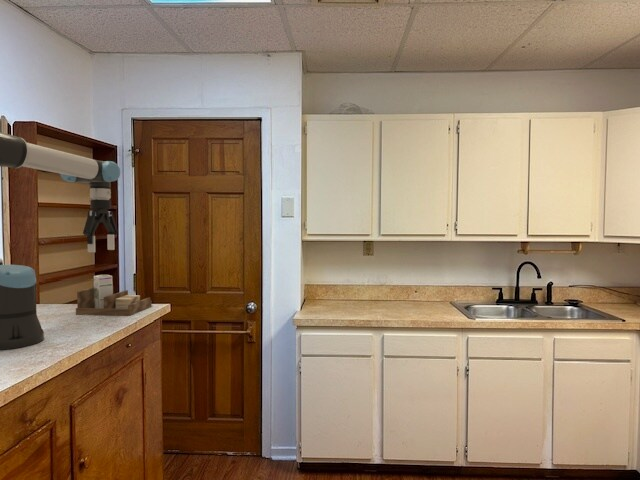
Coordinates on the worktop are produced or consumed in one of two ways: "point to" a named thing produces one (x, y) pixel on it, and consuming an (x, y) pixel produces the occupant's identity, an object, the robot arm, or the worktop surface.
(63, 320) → the worktop surface
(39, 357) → the worktop surface
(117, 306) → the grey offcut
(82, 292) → the walnut rack
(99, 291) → the syrup box
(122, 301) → the birch offcut
